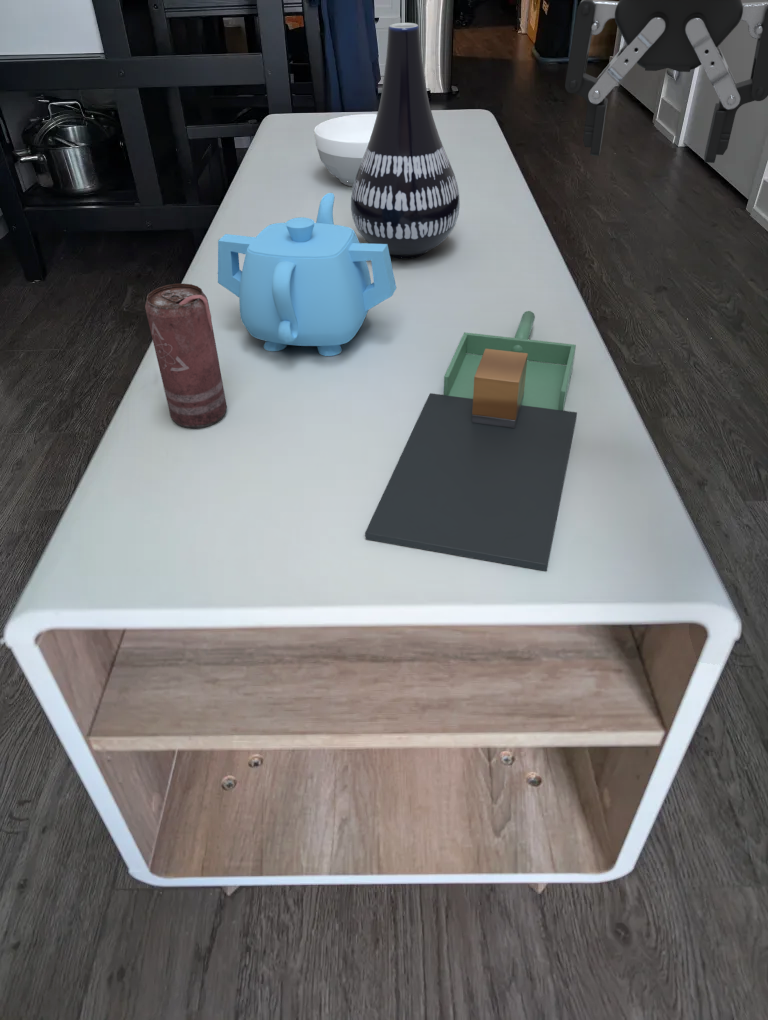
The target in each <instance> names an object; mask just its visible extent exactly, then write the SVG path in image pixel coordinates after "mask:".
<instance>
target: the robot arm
mask: <svg viewBox="0 0 768 1020" xmlns="http://www.w3.org/2000/svg"><path fill="white" fill-rule="evenodd" d="M575 14H576V15H575V21H574V26H573V33H572V39H571V45H570V51H569V57H568V64H567V70H566V74H565V82H564V88H565V91H567V93H569V94H575V95H577V96H580V97H582V98H583V99H584V100H585V102H586V114H585V121H584V129H583V137H582V142H583V146H584V148H590V151H589V152H590V153H589V155H590V156H594V157H599V156H600V154H601V152H602V145H603V139H604V130H605V123H606V117H607V108H608V103H609V98H607V96H608V95H609V94H610V93H611V92H612V91H613V90H614V89H615V87H616V86H617V85H618V83H620V82H621V81H622V80H623V79H624V78H625V77H626V76H627V74H628V73H629V72H630V71H631V69H633V67H635V65H636V64H637V65H638V66H639V67H641V69H642V68H643V69H644V72H645V71H647V72H650V71H651V72H657V71H661V70H665V69H670V70H673V71H675V72H679V73H680V72H682V73H690V72H691V71H692V70H696V69H697V68H699V67H700V66H702V68H703V70H704V72H705V74H706V76H707V78H708V80H709V82H710V84H711V85H712V87H713V89H714V91H715V93H716V95H717V97H718V99H719V100H718V102H716V103H715V105H714V110H713V114H712V118H711V123H710V128H709V132H708V136H707V142H706V146H705V151H704V155H703V156H704V163H709V164H711V163H712V164H715V162H716V158H717V156H724V154H725V153H726V151H727V149H728V148H729V144H730V140H731V135H732V130H733V127H734V122H735V118H736V114H737V112H738V110H739V108H741V107H742V106H743V105H745V104H748V103H752V102H762V101H764V100H766V99H767V97H768V0H766V1H754V2H753V1H752V2H742V0H619V1H617V0H581V1H580V2H579V4H578V6H577V9H576V13H575ZM612 19H614V20H615V24H616V26H617V28H618V30H619V32H620V33H621V36H622V38H623V40H624V42H625V43H624V45H622V47H621V48H620V50H618V52H617V53H616V54H615V55H614V56H613V58H612V59H611V61H610V62H609V63H608V64H607V66H606V67H605V68H604V69H603V70H602V71H601V73H600V74H599V75H598V76H597V77H595V76H592V75H590V74H588V73H586V71H587V66H588V61H589V54H590V49H591V43H592V38H593V36H597V35H599V34H601V33H602V32H603V30H604V28H605V25H606V24H607V22H608V21H610V20H612ZM741 21H743V22H745V23H746V24H747V27H748V28H747V29H748V34H749V37H751V38H752V39H755V40H756V45H755V50H754V56H753V62H752V68H751V73H750V78H749V79H746V80H743V81H740V82H736V80H735V78H734V75H733V73H732V72H731V70H730V67H729V65H728V63H727V60H726V59H725V56H724V54H723V52H722V50H721V48H720V45H721V44H722V43H723V42H724V41H725V40H726V38H728V36H729V35H730V34H731V33H732V32H733V31H734V30H735V29H736V28H737V26H738V25H739V23H741Z"/></svg>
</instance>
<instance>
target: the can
mask: <svg viewBox="0 0 768 1020" xmlns="http://www.w3.org/2000/svg"><path fill="white" fill-rule="evenodd" d="M144 309H145V314H146V317H147V321H148V322H147V323H148V325H149V330H150V335H151V339H152V343H153V347H154V351H155V355H156V360H157V364H158V369H159V373H160V377H161V381H162V385H163V390H164V394H165V398H166V402H167V406H168V407H167V408H168V412H169V416H170V418H171V420H172V421H174V423H175V424H177V425H178V426H180V427H182V428H185V429H186V428H187V429H202V428H207V427H211V426H213V425H215V424H217V423H219V422H220V421H221V420H222V419H223V417H225V414H226V412H227V408H228V406H227V400H226V394H225V388H224V382H223V378H222V377H223V376H222V372H221V366H220V361H219V354H218V350H217V348H218V347H217V344H216V337H215V331H214V327H213V321H212V314H211V310H210V305H209V299H208V297H207V295H206V294H205V293H204V292H203V289H202V288H201V287H200V286H198V285H195V284H192V283H173V284H166V285H162V286H160V287H157V288H155V289H153V290H152V291H150V292H149V293H148V294H147V296H146V302H145V306H144Z"/></svg>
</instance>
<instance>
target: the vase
mask: <svg viewBox="0 0 768 1020" xmlns="http://www.w3.org/2000/svg"><path fill="white" fill-rule="evenodd" d="M385 57H386V58H385V65H384V73H383V74H384V75H383V81H382V87H381V88H382V89H381V93H380V100H379V104H378V110H377V112H376V114H377V117H376V121H375V124H374V128H373V131H372V134H371V137H370V140H369V143H368V145H367V148H366V151H365V153H364V156H363V159H362V161H361V164H360V166H359V169H358V172H357V174H356V177H355V180H354V184H353V187H352V189H351V195H350V211H351V212H350V213H351V217H352V221H353V224H354V226H355V228H356V231H358V232H357V233H358V234H359V235H360V236H361V237H362V238H363V240H364V241H365V242H366V243H367V244H388V249H389V254H390V258H393V259H394V258H395V259H400V260H401V259H402V260H407V259H415V258H419V257H422V256H424V255H425V254H426V253H427V252H430V251H431V250H433V249H435V248H437V247H438V246H439V245H441V244H442V243H443V242H444V241H445V240H447V238H448V237H449V236H450V234H451V233H452V231H453V230H454V228H455V227H456V224H457V221H458V218H459V215H460V207H461V204H460V190H459V184H458V181H457V178H456V174H455V172H454V170H453V168H452V165H451V162H450V160H449V158H448V155H447V152H446V150H445V148H444V145H443V143H442V140H441V137H440V135H439V132H438V128H437V126H436V122H435V119H434V116H433V112H432V107H431V104H430V99H429V94H428V90H427V83H426V76H425V71H424V63H423V57H422V47H421V35H420V25H418V24H417V23H414V22H396V23H392V24H390V25H389V26H388V29H387V46H386V56H385Z"/></svg>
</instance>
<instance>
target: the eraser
mask: <svg viewBox="0 0 768 1020" xmlns="http://www.w3.org/2000/svg"><path fill="white" fill-rule="evenodd" d="M527 358H528V354H527V353H519V352H511V351H502V350H493V349H485V351H484V353H483V355H482V358H481V361H480V363H479V366H478V369H477V371H476V374H475V376H474V390H473V409H472V423H479V424H486V425H494V426H501V427H509V428H515V426H516V422H517V419H518V415H519V412H520V408H521V405H522V401H523V397H524V388H525V378H526V368H527V361H528V360H527Z"/></svg>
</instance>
